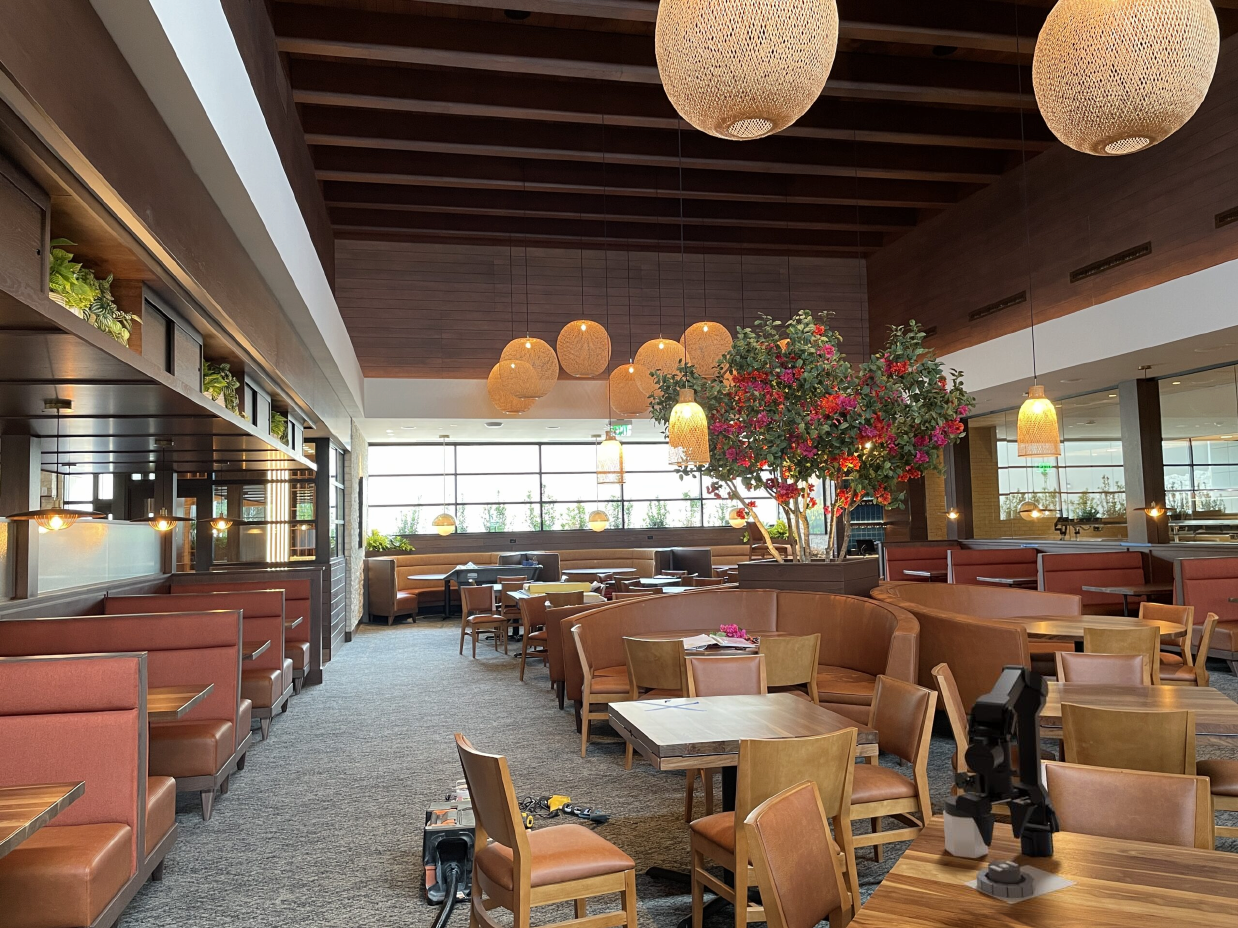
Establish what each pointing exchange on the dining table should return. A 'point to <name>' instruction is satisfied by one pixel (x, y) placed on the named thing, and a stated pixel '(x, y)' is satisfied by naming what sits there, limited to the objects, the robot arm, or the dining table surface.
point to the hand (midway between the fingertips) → (1002, 841)
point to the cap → (1004, 872)
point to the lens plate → (1020, 885)
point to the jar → (961, 832)
